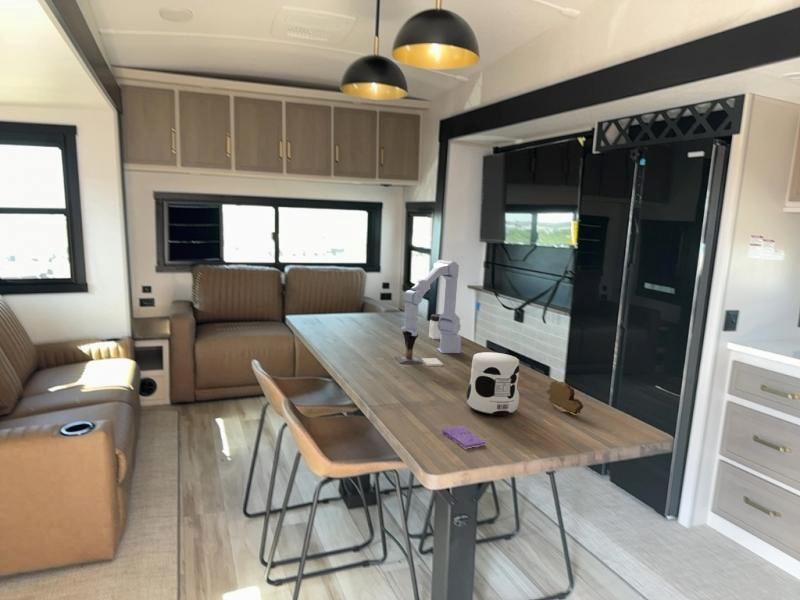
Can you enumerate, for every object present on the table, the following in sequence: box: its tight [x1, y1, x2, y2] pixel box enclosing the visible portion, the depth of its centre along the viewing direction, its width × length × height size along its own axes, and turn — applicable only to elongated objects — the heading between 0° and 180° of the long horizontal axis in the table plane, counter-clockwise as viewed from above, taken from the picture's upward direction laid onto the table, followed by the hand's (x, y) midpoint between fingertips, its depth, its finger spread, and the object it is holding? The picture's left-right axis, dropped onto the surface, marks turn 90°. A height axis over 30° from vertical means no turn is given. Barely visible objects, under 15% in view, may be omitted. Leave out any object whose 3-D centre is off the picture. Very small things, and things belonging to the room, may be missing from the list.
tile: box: [420, 357, 444, 367], centre depth 233 cm, size 7×1×9 cm
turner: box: [400, 341, 419, 362], centre depth 233 cm, size 7×6×9 cm
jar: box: [428, 313, 442, 340], centre depth 282 cm, size 9×8×12 cm
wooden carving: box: [545, 380, 584, 415], centre depth 182 cm, size 16×5×10 cm, turn 28°
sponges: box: [441, 425, 486, 448], centre depth 155 cm, size 7×13×2 cm, turn 27°
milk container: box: [466, 351, 520, 416], centre depth 178 cm, size 17×17×18 cm
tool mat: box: [394, 355, 424, 365], centre depth 235 cm, size 10×10×1 cm
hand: (409, 348), depth 234 cm, fingers closed on turner, 2 cm apart
